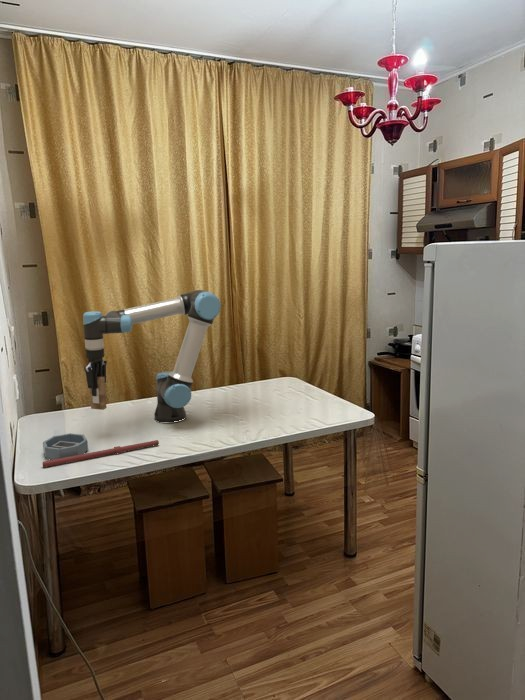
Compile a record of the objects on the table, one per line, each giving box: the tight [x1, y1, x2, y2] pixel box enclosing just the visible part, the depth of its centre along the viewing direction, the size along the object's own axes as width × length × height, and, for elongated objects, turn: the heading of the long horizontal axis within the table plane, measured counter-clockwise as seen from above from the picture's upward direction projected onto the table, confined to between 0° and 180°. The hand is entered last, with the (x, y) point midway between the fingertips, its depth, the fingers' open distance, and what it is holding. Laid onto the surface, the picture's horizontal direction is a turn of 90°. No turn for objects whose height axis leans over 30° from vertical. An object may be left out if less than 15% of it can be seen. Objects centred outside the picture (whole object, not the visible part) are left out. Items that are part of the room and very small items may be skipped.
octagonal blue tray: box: [42, 432, 89, 460], centre depth 207 cm, size 16×16×5 cm
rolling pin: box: [41, 439, 160, 468], centre depth 204 cm, size 45×3×3 cm, turn 118°
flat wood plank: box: [89, 376, 107, 411], centre depth 219 cm, size 6×2×14 cm, turn 74°
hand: (98, 401), depth 219 cm, fingers closed on flat wood plank, 2 cm apart
